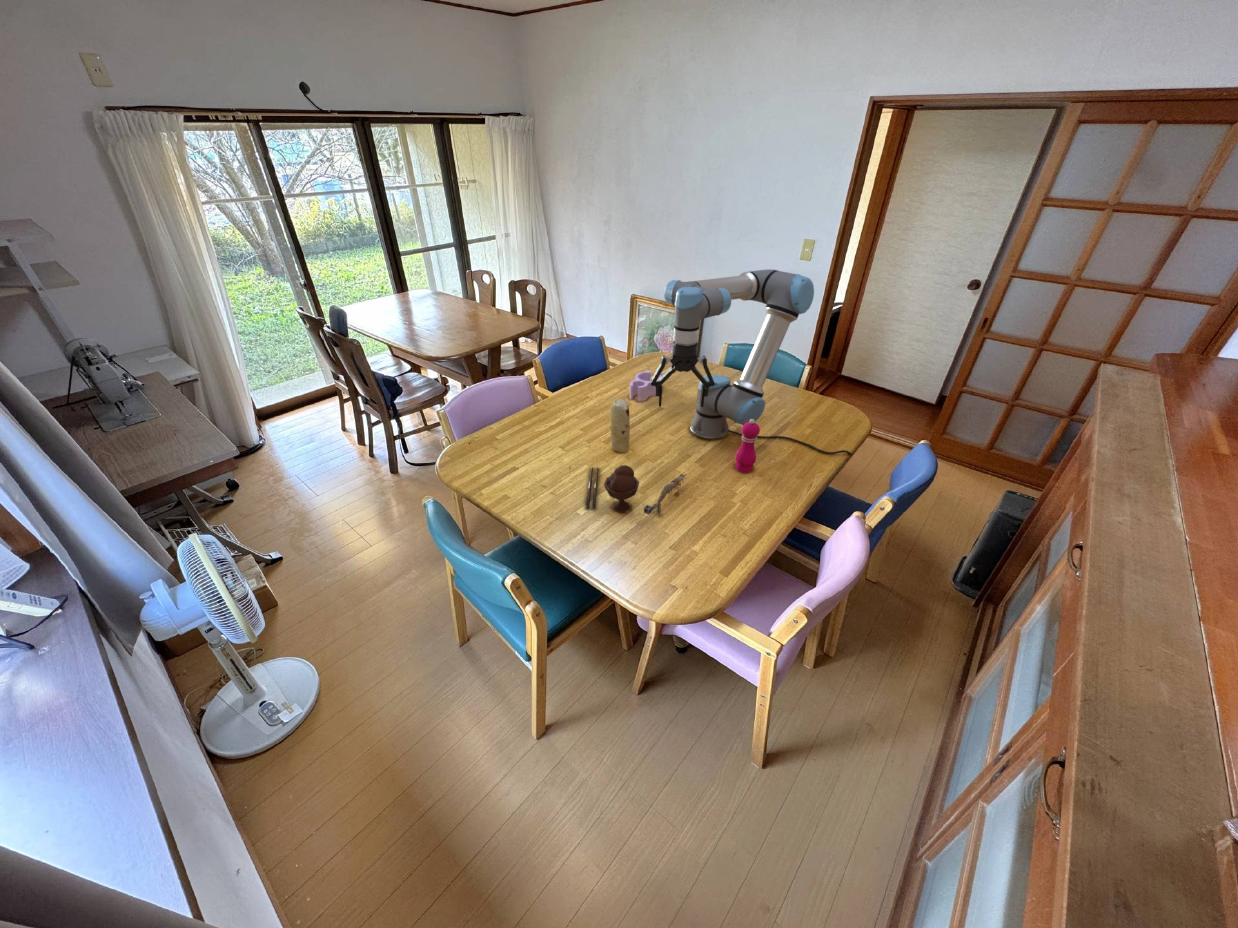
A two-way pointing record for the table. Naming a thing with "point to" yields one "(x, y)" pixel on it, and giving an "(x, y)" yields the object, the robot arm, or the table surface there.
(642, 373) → the clip
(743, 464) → the pepper mill
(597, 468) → the chopsticks
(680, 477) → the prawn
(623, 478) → the ice cream bowl
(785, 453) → the table surface
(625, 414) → the food model
